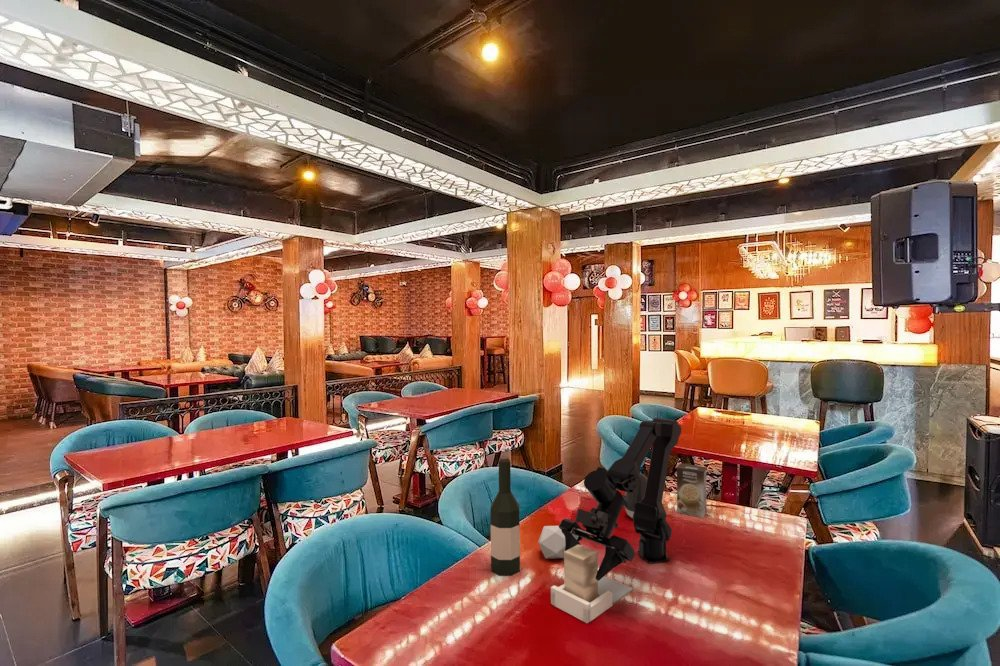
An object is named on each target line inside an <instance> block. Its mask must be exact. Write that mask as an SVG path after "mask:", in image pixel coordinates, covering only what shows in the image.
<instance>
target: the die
mask: <svg viewBox="0 0 1000 666" xmlns="http://www.w3.org/2000/svg"><path fill="white" fill-rule="evenodd" d="M538 538H539V539H538V541H537V542H538V545H539V547H540V549H541V552H542V554H543V557H544V559H549V560H550V559H551V560H552V559H564V552H565V535H564V534H563V533H562V530H561V529H560V528H559V525H544V526H543V528H542V531H541V534H540V536H539V537H538Z"/></svg>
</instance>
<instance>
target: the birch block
mask: <svg viewBox="0 0 1000 666" xmlns="http://www.w3.org/2000/svg"><path fill="white" fill-rule="evenodd" d="M598 561H599V560H598V551H597V550H593V549H591V548H589V547H586V546H584V545H581V544H580V545H579V544H578V545H576V546H574V547H572V548H570V549H568V550H566V551H565V552H564V558H563V568H564V569H563V574H564V575H563V578H564V579H563V581H564V583H563V584H564V590H565V591H567V592H569V593H571V594H573V595H575V596H577V597H579V598H581V599H583V600H585V601H587V602H589V603H590V602H592V601H593V600H595V599H596V598H598V597H599V596H598V580H596V575H597V572H598V569H599V567H598V565H599V563H598Z"/></svg>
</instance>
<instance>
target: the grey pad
mask: <svg viewBox="0 0 1000 666" xmlns="http://www.w3.org/2000/svg"><path fill="white" fill-rule="evenodd" d="M633 590H634V588H633V587H631V586H629V585H627V584H624V583H621V582H620V581H617V580H614V579H613V578H610V577H608V576H606V575H605V576H604V577H603V578H601V579H600V580H599V581H598V597H599V596H601V595H602V594H604V593H605V592H607V591H610V592H612V604H616V603H617V602H618V601H620V600H621V599H623V598H624V597H625V596H627V595H628V594H629V593H631V592H633Z"/></svg>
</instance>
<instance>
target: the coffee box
mask: <svg viewBox="0 0 1000 666" xmlns="http://www.w3.org/2000/svg"><path fill="white" fill-rule="evenodd" d="M676 467H677V468H676V513H677V514H682V515H687V516H693V517H696V518H701V519H703V518H705V516H706V513H707V466H700V465H694V464H689V463H681V462H680V463H679V464H678V465H677V466H676Z"/></svg>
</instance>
